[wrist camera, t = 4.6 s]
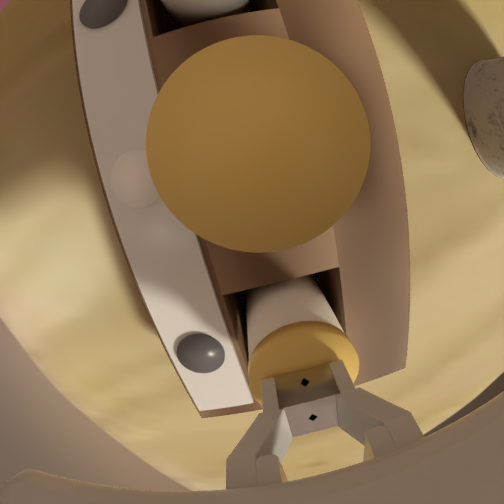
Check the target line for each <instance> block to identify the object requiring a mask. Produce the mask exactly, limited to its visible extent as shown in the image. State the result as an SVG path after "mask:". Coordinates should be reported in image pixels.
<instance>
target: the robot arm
mask: <svg viewBox="0 0 504 504" xmlns="http://www.w3.org/2000/svg"><path fill="white" fill-rule="evenodd" d="M260 386H261V396H262V405H263V413H259V414H258V416H257V417H256V419H255V420H254V422H253V423H252V425H251V426H250V428H249V429H248V430H247V432H246V433H245V435H244V436H243V438H242V439H241V440H240V442H239V443H238V445H237V446H236V447H235V449H234V450H233V451H232V453H231V454H230V455H229V457H228V458H227V460H226V490H211V491H157V490H156V491H155V490H141V489H130V488H121V487H113V486H106V485H100V484H94V483H88V482H83V481H78V480H73V479H69V478H64V477H60V476H56V475H52V474H49V473H45V472H41V471H38V470H35V469H26V470H24V471H22V472H20V473H19V474H17V475H16V476H14V477H13V478H11V479H10V480H8V481H7V482H5V483H4V484H3V485H2V486H1V488H0V504H504V391H503V392H502V393H501V394H499V395H498V396H496V397H495V398H493V399H492V400H490V401H489V402H487V403H486V404H484V405H482V406H481V407H480V408H478V409H476V410H475V411H473V412H471V413H469V414H468V415H466V416H464V417H463V418H461V419H459V420H457V421H456V422H454V423H452V424H450V425H448V426H446V427H444V428H442V429H441V430H439V431H437V432H435V433H432V434H431V435H428V436H426V437H424V436H423V434H422V432H421V430H420V428H419V427H418V425H417V423H416V421H415V419H414V418H413V416H412V414H411V412H409V411H407V410H405V409H403V408H400V407H398V406H396V405H394V404H392V403H390V402H388V401H386V400H384V399H382V398H379V397H377V396H375V395H373V394H371V393H369V392H367V391H365V390H363V389H361V388H357V389H356V388H355V386H354V384H353V382H352V379H351V377H350V375H349V373H348V371H347V369H346V366H345V364H344V362H343V360H341V359H340V360H337V361H334V362H330V363H328V364H324V365H320V366H317V367H313V368H310V369H306V370H302V371H298V372H294V373H289V374H285V375H280V376H275V377H272V378H266V379H261V381H260ZM335 426H339V427H340V428H341V429H342V430H344V431H345V432H347V433H348V434H349V435H351V436H352V437H353V438H355V439H356V440H357V441H359V442H360V443H362V444H363V445H364V446H365V448H364V458H363V462H361V463H358V464H355V465H352V466H349V467H345V468H342V469H339V470H335V471H331V472H328V473H324V474H320V475H316V476H311V477H307V478H303V479H298V480H293V481H288V480H287V477H286V475H285V472H284V470H283V468H282V465H281V462H282V460H283V458H284V456H285V454H286V452H287V450H288V448H289V446H290V444H291V441H292V439H293V437H296V436H300V435H304V434H308V433H311V432H315V431H319V430H323V429H327V428H331V427H335Z"/></svg>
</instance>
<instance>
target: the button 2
mask: <svg viewBox="0 0 504 504" xmlns="http://www.w3.org/2000/svg"><path fill="white" fill-rule="evenodd" d="M245 296H246V315H247V334H248V352H249V362H248V377H249V388H250V391H251V393H252V396H253V397H254V398H255V400H256V401H257V402H258V403H259V404H261V405H262V396H261V386H260V381H261V379H266V378H272V377H275V376H280V375H285V374H289V373H294V372H298V371H302V370H306V369H310V368H313V367H317V366H320V365H324V364H328V363H330V362H334V361H337V360H340V359H341V360H343V362H344V364H345V366H346V369H347V371H348V373H349V375H350V377H351V379H352V382H353V383H354V382H355V380H356V377H357V375H358V371H359V358H358V355H357V353H356V351H355V349H354V347H353V345H352V343H351V341H350V340H349V338H348V336H347V335H346V334H345V333H344V331H343V329H342V327H341V326H340V324H339V322H338V320H337V318H336V316H335V315H334V313H333V311H332V309H331V307H330V305H329V304H328V302H327V300H326V298H325V296H324V295H323V293H322V291H321V289H320V287H319V286H318V284H317V282H316V280H315V279H314V277H313V275H312V274H309V275H305V276H301V277H297V278H293V279H289V280H285V281H281V282H277V283H273V284H269V285H265V286H260V287H256V288H252V289H248V290H245ZM262 406H263V405H262Z"/></svg>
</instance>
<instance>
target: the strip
mask: <svg viewBox="0 0 504 504" xmlns="http://www.w3.org/2000/svg"><path fill="white" fill-rule="evenodd" d="M72 6H73V23H74V35H75V45H76V54H77V62H78V69H79V76H80V82H81V88H82V94H83V100H84V105H85V110H86V115H87V120H88V125H89V129H90V134H91V138H92V143H93V147H94V151H95V155H96V159H97V163H98V166H99V170H100V174H101V177H102V181H103V185H104V188H105V191H106V195H107V198H108V201H109V205H110V208H111V211H112V214H113V217H114V220H115V223H116V226H117V229H118V232H119V235H120V238H121V241H122V244H123V246H124V249H125V252H126V255H127V257H128V260H129V263H130V265H131V268H132V271H133V273H134V276H135V278H136V281H137V283H138V286H139V288H140V291H141V293H142V295H143V298H144V300H145V303H146V305H147V307H148V310H149V312H150V314H151V316H152V319H153V321H154V323H155V325H156V327H157V330H158V332H159V334H160V336H161V338H162V340H163V342H164V345H165V347H166V349H167V351H168V353H169V355H170V357H171V359H172V361H173V363H174V365H175V367H176V369H177V371H178V373H179V375H180V376H181V378H182V380H183V382H184V384H185V386H186V388H187V390H188V391H189V393H190V395H191V397H192V399H193V400H194V402H195V404H196V406H197V408H198V409H199V411H204V410H212V409H220V408H226V407H233V406H239V405H245V404H251V403H253V397H252V395H251V392H250V389H249V387H248V384H247V381H246V379H245V376H244V373H243V371H242V368H241V365H240V362H239V360H238V357H237V354H236V351H235V349H234V346H233V343H232V340H231V337H230V334H229V331H228V329H227V326H226V323H225V320H224V317H223V314H222V311H221V308H220V305H219V302H218V299H217V296H216V293H215V290H214V287H213V284H212V281H211V278H210V275H209V272H208V268H207V265H206V262H205V259H204V256H203V253H202V249H201V246H200V243H199V240H198V236H197V234H195V233H194V232H192V231H191V230H189V229H188V228H187V227H186V226H185V225H183V224H182V223H181V222H180V221H179V220H178V219H177V218H176V217H175V216H174V215H173V214H172V212H171V211H170V210H169V209H168V207H167V206H166V205H165V203H164V202H163V200H162V199H161V197H160V195H159V193H158V191H157V189H156V187H155V185H154V183H153V180H152V177H151V174H150V171H149V166H148V161H147V154H146V133H147V125H148V121H149V116H150V112H151V110H152V107H153V104H154V102H155V99H156V97H157V95H158V94H159V92H158V87H157V83H156V79H155V74H154V70H153V65H152V61H151V56H150V51H149V47H148V42H147V37H146V32H145V27H144V22H143V16H142V11H141V6H140V0H72Z"/></svg>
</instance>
